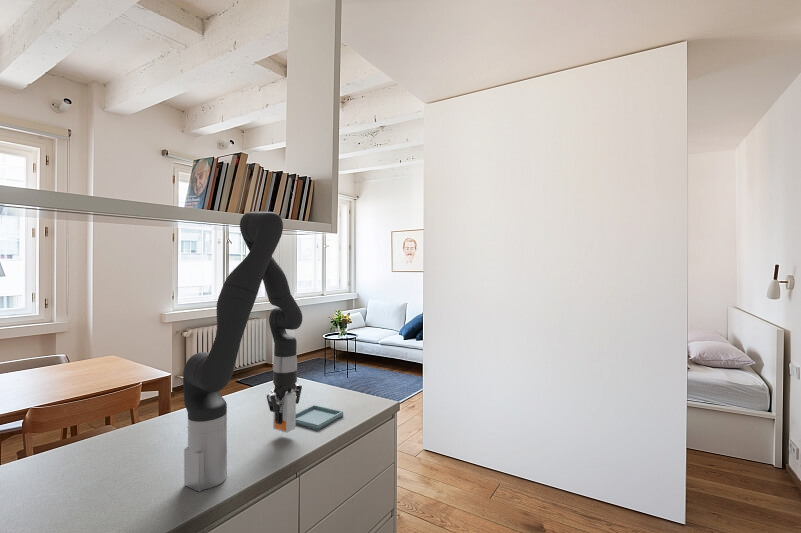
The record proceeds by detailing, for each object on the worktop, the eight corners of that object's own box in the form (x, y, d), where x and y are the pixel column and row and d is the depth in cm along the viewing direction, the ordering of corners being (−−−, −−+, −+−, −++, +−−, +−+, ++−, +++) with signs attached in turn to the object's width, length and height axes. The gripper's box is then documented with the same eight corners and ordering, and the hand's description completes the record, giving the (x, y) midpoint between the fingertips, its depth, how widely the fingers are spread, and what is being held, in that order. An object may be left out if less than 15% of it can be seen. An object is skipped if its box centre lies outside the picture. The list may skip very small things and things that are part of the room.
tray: (318, 430, 135) (318, 425, 135) (287, 422, 142) (287, 417, 142) (343, 416, 148) (343, 411, 148) (314, 409, 154) (314, 404, 154)
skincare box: (272, 429, 130) (273, 392, 130) (282, 425, 133) (282, 389, 133) (286, 433, 127) (287, 395, 127) (296, 428, 131) (296, 392, 131)
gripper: (277, 375, 122) (276, 431, 122) (308, 365, 135) (308, 416, 135) (259, 372, 126) (259, 426, 126) (292, 362, 138) (291, 412, 138)
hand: (284, 420), depth 130 cm, fingers closed on skincare box, 4 cm apart
